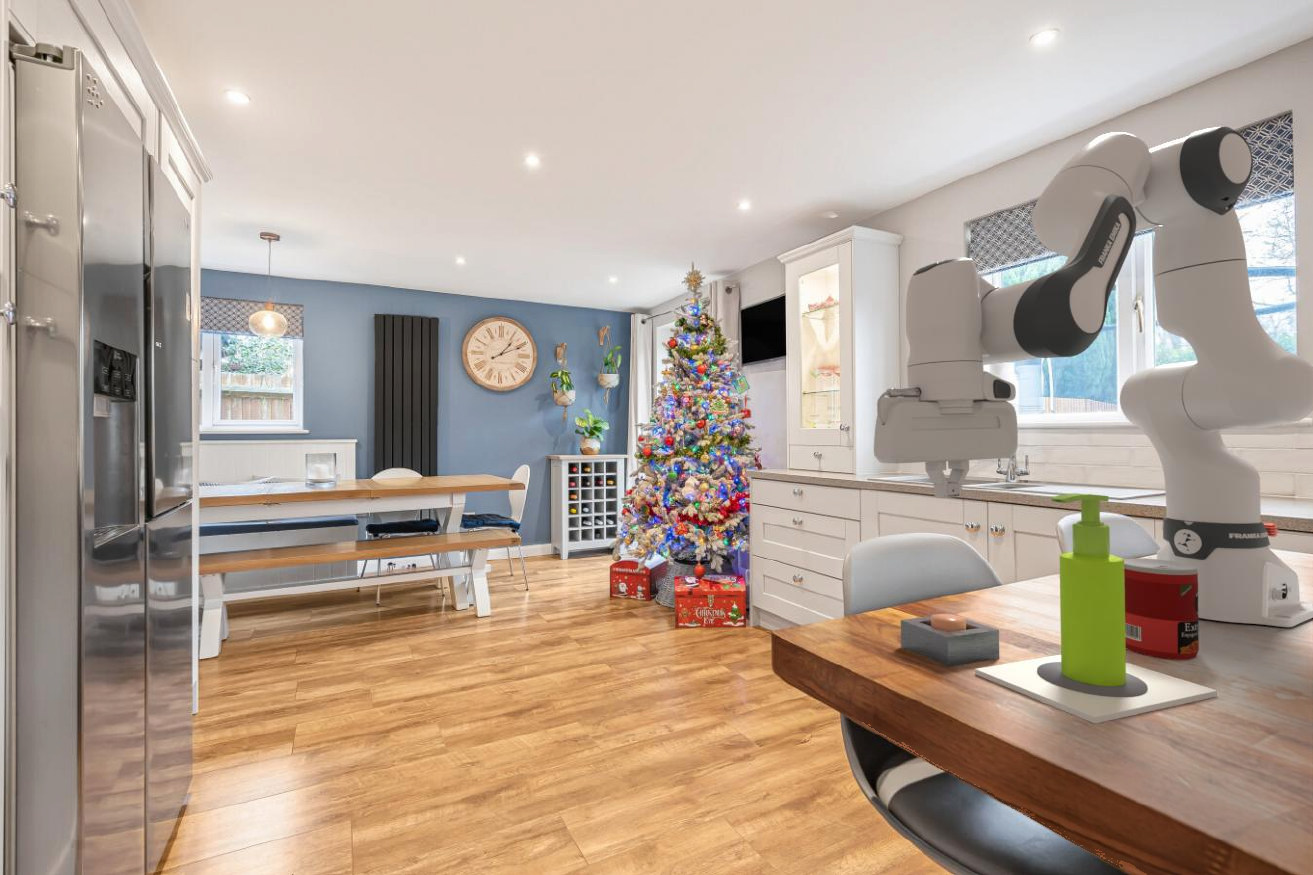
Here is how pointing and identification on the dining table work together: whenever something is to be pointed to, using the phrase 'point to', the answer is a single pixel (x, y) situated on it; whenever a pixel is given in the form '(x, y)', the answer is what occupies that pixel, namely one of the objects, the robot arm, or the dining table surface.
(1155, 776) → the dining table surface
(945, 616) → the button
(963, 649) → the button housing
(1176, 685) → the white tray
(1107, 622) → the soap dispenser
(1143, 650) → the canned food
